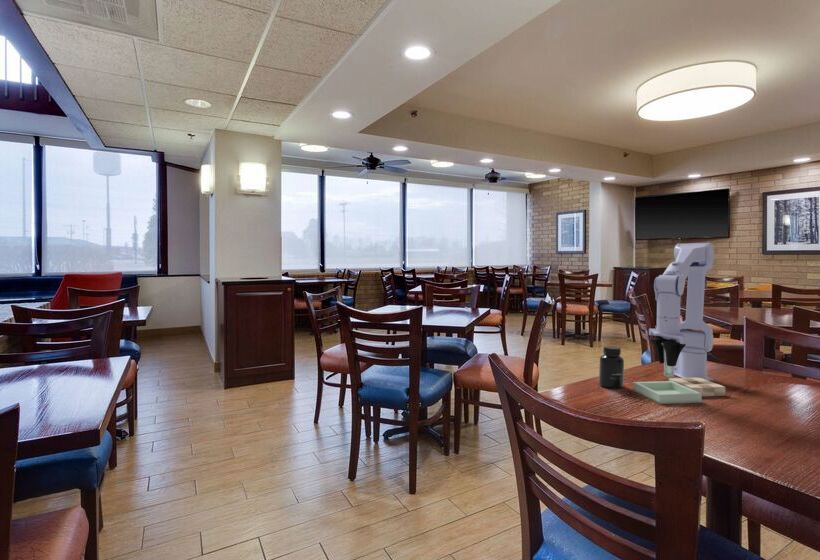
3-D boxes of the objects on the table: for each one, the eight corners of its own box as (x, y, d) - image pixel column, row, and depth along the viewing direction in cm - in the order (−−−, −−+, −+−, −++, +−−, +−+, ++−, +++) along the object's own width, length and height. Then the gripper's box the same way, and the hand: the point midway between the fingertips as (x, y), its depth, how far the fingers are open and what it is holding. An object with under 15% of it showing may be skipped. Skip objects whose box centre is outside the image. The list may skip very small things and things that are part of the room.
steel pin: (660, 374, 125) (659, 342, 124) (670, 373, 125) (669, 341, 125) (667, 378, 122) (666, 344, 121) (678, 377, 122) (677, 343, 121)
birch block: (668, 386, 132) (668, 378, 132) (699, 385, 133) (699, 377, 133) (691, 396, 122) (691, 387, 122) (725, 395, 123) (725, 386, 123)
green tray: (633, 390, 128) (633, 382, 128) (671, 389, 129) (671, 381, 129) (659, 403, 116) (659, 394, 116) (701, 402, 117) (701, 393, 117)
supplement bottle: (617, 390, 128) (618, 350, 127) (595, 385, 133) (595, 347, 133) (627, 386, 133) (627, 347, 132) (605, 381, 138) (605, 344, 137)
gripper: (639, 314, 130) (638, 358, 130) (672, 320, 115) (671, 371, 116) (661, 313, 130) (661, 358, 131) (697, 320, 116) (696, 370, 116)
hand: (667, 364), depth 123 cm, fingers closed on steel pin, 3 cm apart
